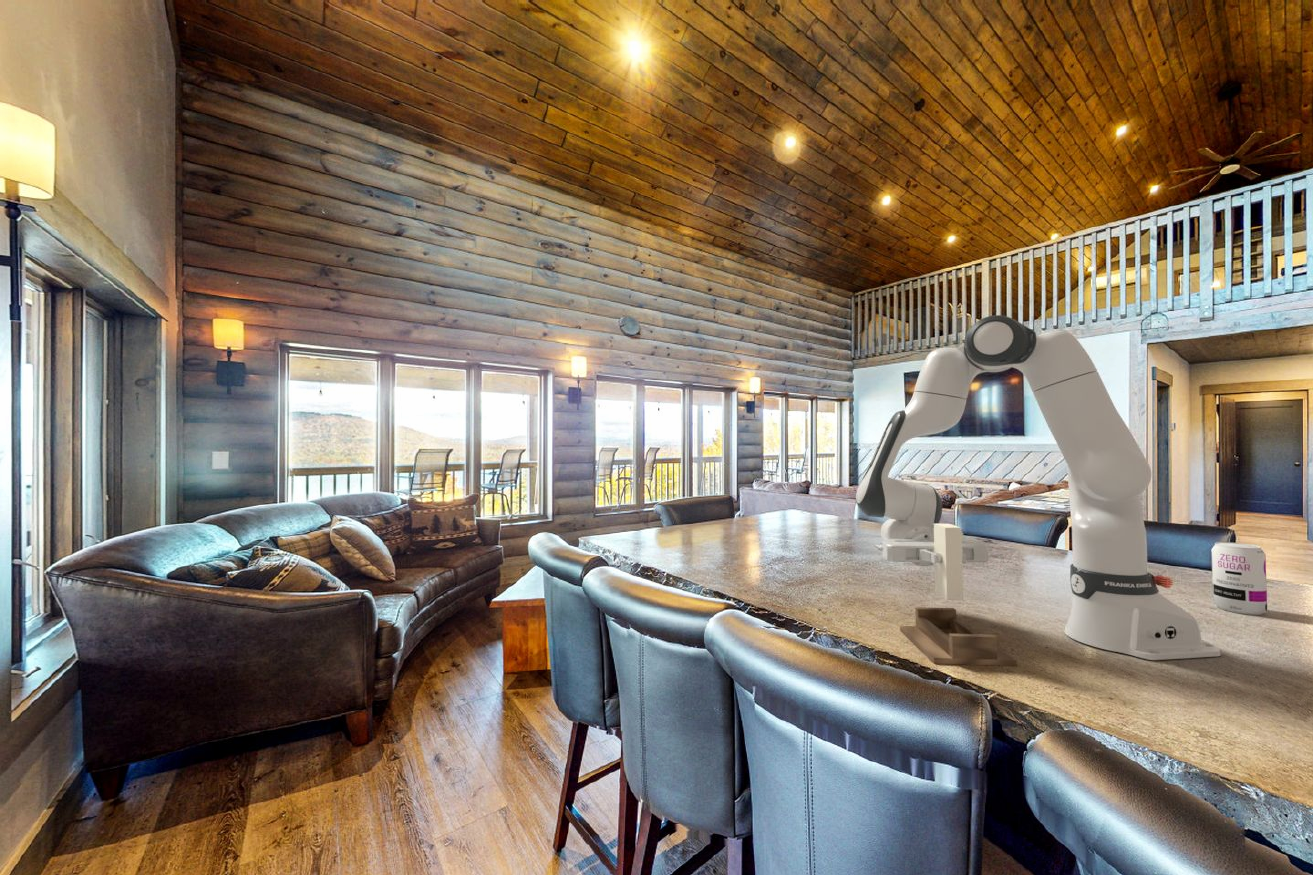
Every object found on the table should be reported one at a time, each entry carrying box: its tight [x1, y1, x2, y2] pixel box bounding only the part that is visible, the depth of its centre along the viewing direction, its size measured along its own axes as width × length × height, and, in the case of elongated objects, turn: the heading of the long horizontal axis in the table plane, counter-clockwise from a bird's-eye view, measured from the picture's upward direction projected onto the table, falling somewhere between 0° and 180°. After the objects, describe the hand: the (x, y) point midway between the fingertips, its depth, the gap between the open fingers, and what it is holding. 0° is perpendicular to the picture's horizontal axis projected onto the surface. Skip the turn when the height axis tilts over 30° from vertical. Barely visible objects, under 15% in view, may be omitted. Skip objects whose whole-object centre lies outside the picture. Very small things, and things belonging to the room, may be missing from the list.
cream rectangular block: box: [934, 523, 964, 601], centre depth 99 cm, size 3×5×14 cm, turn 174°
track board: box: [899, 606, 1018, 667], centre depth 98 cm, size 14×16×5 cm
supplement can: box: [1210, 541, 1268, 616], centre depth 116 cm, size 8×8×15 cm
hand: (950, 559), depth 98 cm, fingers closed on cream rectangular block, 3 cm apart
